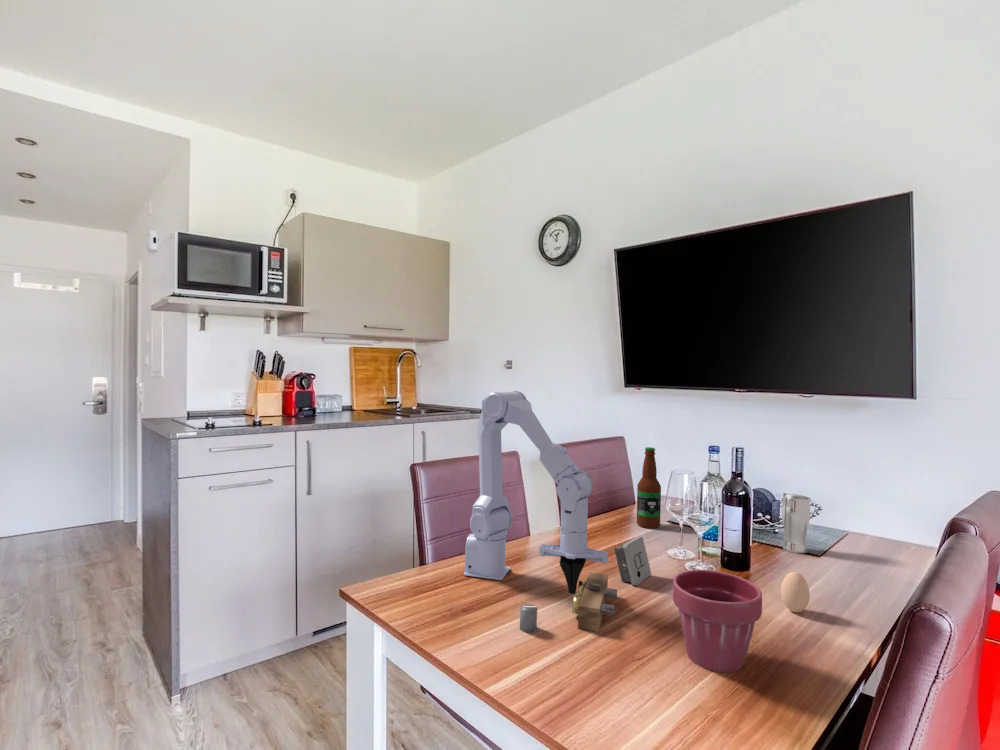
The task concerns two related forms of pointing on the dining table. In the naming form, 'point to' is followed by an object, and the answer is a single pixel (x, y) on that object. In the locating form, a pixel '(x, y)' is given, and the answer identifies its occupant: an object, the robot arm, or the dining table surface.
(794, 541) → the beer glass
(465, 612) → the dining table surface
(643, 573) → the electrical switch
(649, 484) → the bottle
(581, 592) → the far plunger
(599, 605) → the wooden board with knobs
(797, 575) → the egg
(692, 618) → the plant pot
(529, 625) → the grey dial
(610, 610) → the near plunger
